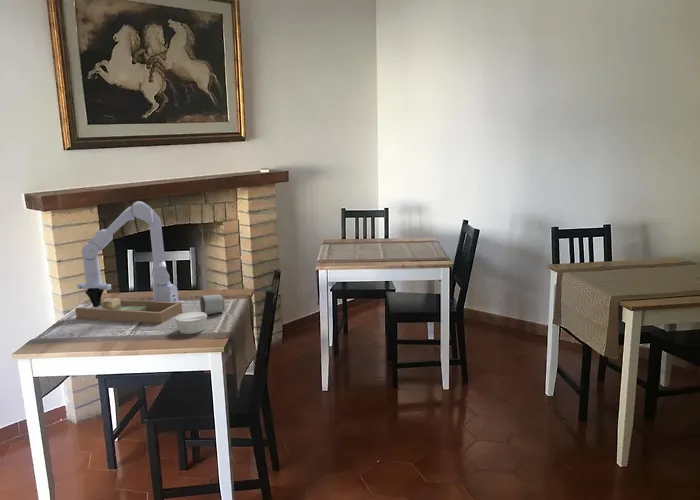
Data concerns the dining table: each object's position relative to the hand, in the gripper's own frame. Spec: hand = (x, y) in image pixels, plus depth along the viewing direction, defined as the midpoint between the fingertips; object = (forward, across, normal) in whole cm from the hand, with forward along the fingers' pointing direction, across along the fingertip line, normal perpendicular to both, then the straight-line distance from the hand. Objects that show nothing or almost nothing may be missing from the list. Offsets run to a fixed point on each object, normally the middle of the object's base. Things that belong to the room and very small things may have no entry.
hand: (96, 306), depth 234 cm
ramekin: (+3, +50, -12) cm, 52 cm away
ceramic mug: (+3, +46, +9) cm, 47 cm away
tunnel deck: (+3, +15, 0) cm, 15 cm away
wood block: (+1, +7, 0) cm, 7 cm away
